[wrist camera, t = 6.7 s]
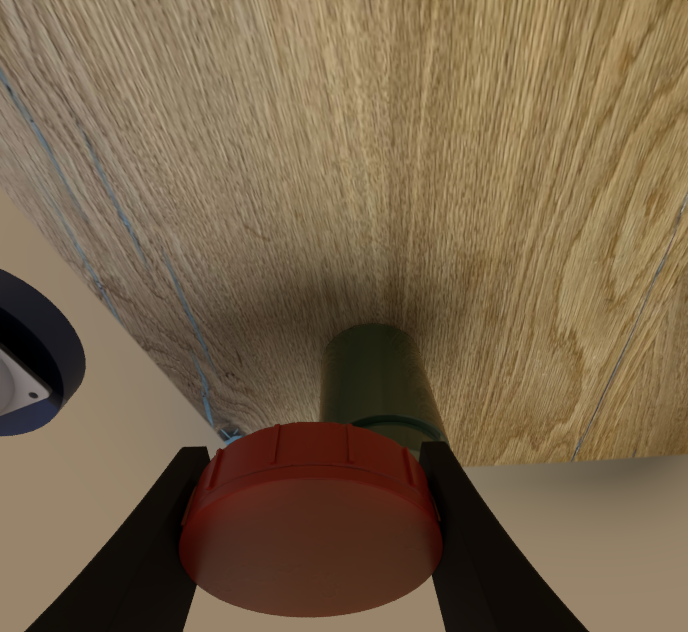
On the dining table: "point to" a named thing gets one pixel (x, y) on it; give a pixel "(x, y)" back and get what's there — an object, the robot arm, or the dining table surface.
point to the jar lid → (311, 522)
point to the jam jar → (380, 386)
